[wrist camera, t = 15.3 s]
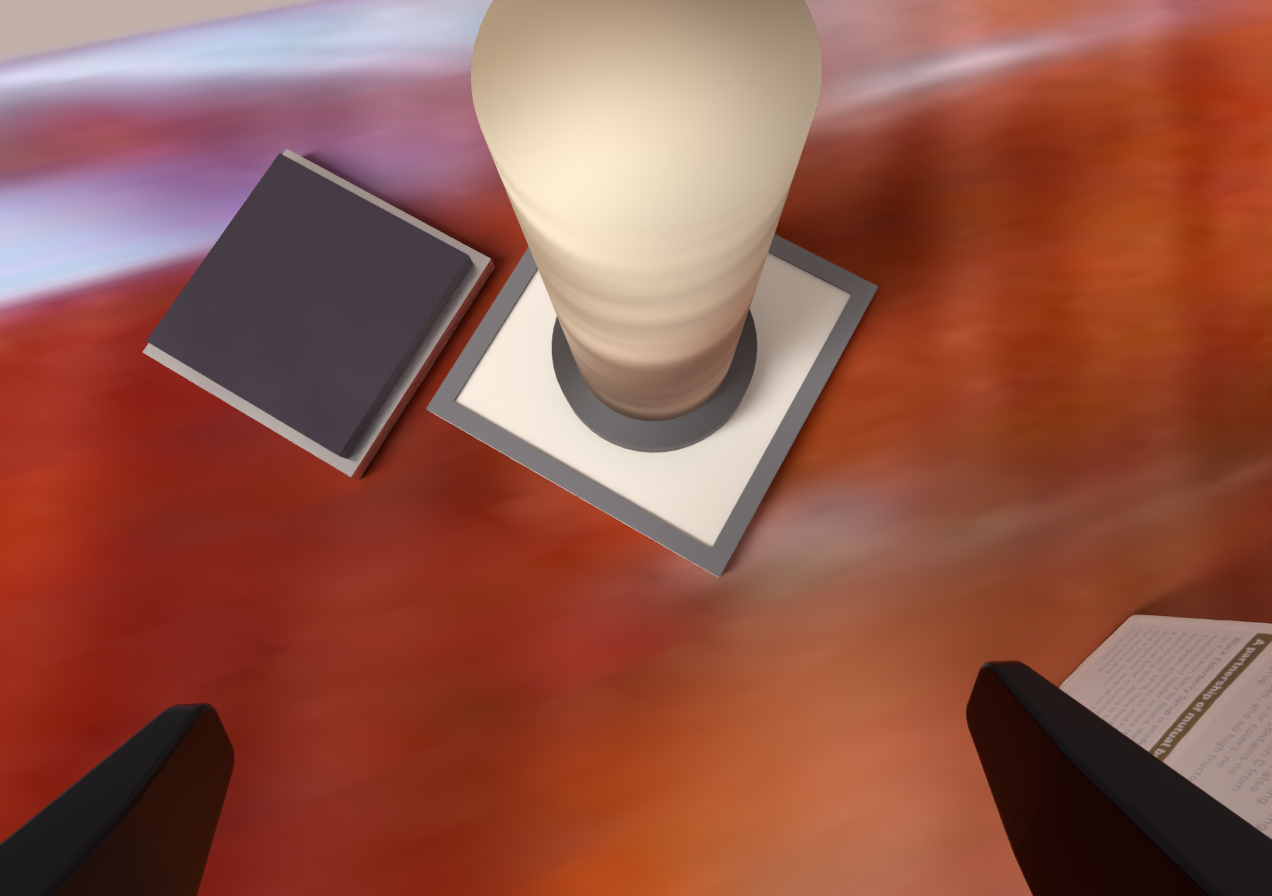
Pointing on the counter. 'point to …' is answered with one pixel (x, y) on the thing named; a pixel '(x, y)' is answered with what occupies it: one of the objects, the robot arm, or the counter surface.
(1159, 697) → the syrup box
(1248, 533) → the counter surface
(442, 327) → the ink pad
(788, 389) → the marked board
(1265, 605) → the counter surface
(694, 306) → the stamp
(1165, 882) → the robot arm
